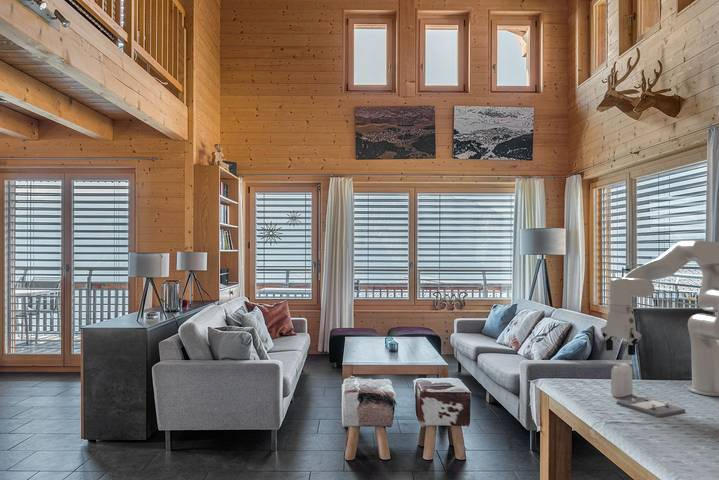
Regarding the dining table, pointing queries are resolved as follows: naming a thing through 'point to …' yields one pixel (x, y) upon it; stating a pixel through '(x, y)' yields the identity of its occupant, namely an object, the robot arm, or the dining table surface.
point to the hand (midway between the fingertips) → (620, 352)
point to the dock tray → (651, 406)
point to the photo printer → (621, 380)
